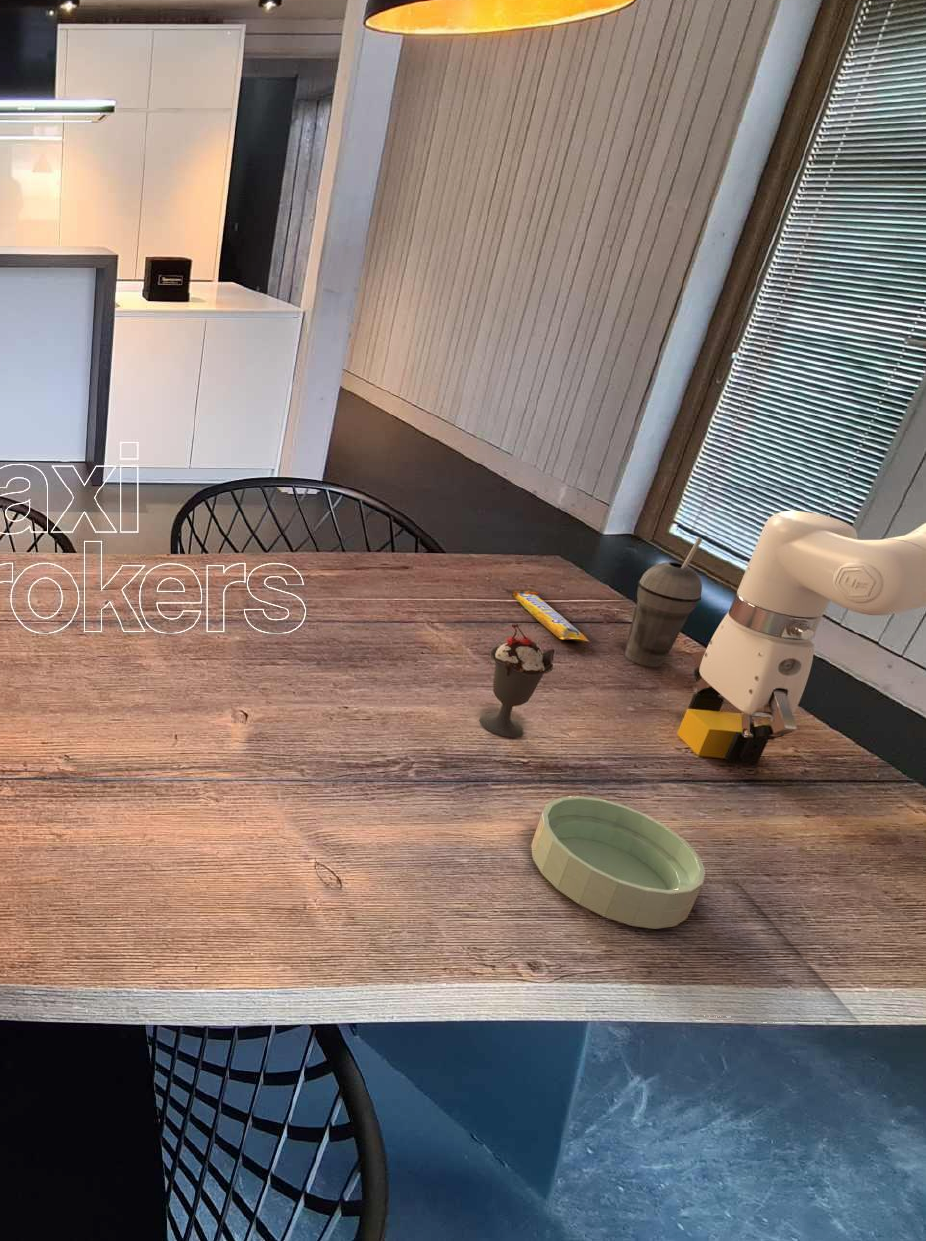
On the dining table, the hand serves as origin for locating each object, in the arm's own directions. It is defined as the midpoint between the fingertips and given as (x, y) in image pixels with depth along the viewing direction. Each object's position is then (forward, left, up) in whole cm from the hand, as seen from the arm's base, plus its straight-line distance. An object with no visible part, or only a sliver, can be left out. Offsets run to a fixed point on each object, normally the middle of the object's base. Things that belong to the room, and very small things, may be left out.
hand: (718, 740), depth 102 cm
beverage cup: (-3, -22, -1) cm, 22 cm away
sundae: (+25, 0, -1) cm, 25 cm away
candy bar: (+6, -32, -1) cm, 33 cm away
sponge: (0, 0, -1) cm, 1 cm away
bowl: (+25, +26, -1) cm, 36 cm away
